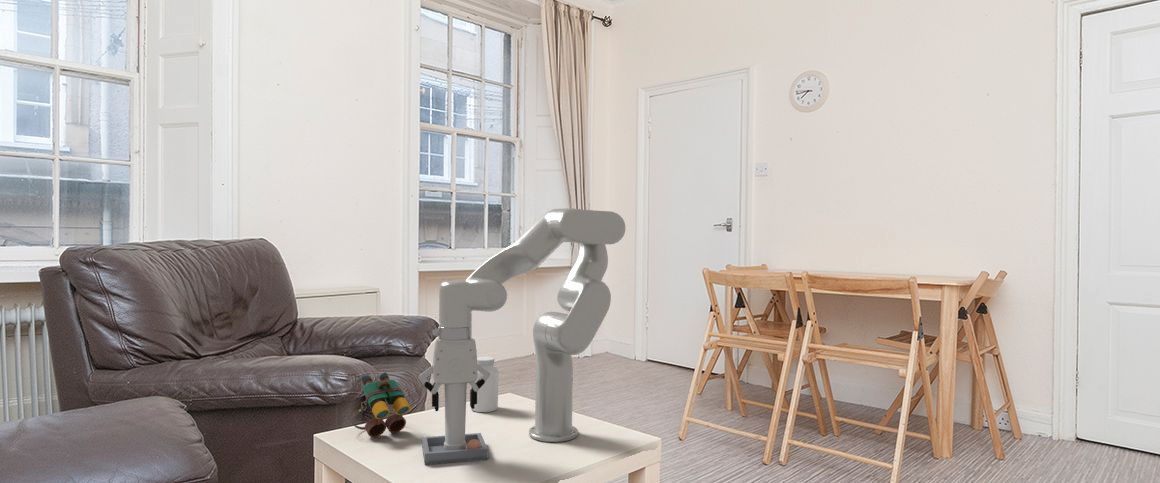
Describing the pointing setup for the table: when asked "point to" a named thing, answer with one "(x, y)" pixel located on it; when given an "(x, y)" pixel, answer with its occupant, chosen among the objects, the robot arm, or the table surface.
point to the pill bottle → (487, 387)
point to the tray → (438, 455)
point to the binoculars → (383, 405)
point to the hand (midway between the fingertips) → (454, 408)
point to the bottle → (455, 416)
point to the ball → (473, 444)
